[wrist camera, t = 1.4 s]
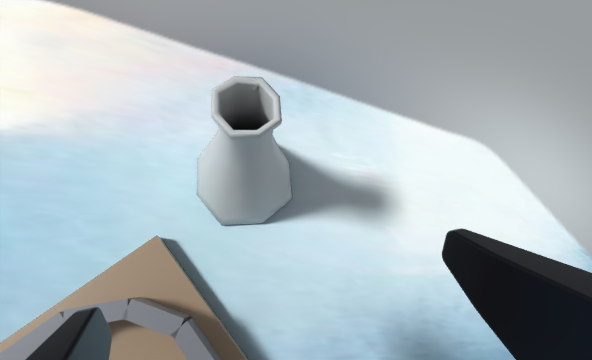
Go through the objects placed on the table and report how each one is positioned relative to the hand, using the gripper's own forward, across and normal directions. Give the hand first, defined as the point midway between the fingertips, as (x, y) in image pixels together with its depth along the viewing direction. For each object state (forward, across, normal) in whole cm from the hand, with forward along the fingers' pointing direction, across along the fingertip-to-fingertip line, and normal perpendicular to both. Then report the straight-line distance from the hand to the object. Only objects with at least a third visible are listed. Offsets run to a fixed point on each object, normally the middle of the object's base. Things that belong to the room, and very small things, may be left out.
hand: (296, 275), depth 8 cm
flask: (+15, 0, +4) cm, 16 cm away
